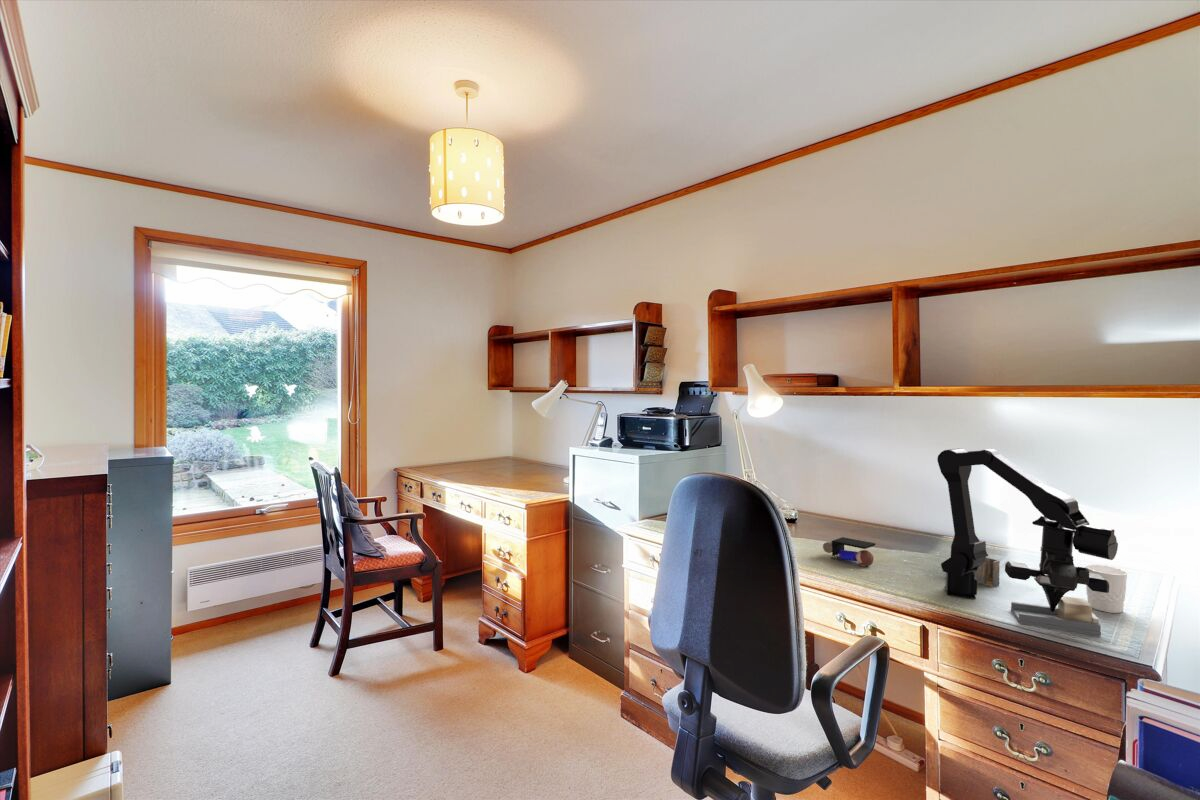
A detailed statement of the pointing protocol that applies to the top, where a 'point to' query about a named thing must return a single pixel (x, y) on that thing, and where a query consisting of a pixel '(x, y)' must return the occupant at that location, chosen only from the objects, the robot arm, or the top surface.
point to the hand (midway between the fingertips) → (1052, 611)
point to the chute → (1052, 619)
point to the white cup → (1117, 589)
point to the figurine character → (838, 549)
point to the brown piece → (988, 573)
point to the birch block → (1074, 609)
